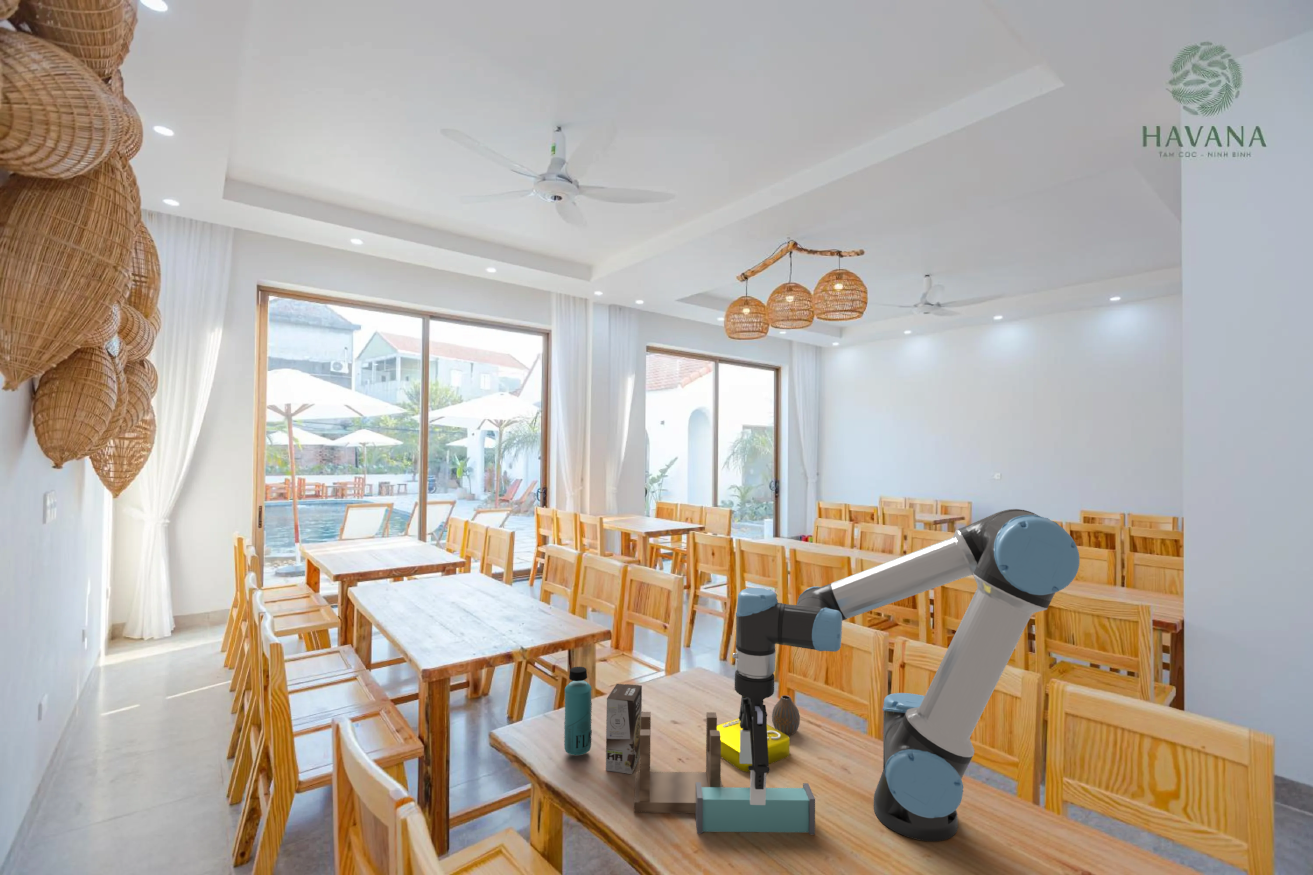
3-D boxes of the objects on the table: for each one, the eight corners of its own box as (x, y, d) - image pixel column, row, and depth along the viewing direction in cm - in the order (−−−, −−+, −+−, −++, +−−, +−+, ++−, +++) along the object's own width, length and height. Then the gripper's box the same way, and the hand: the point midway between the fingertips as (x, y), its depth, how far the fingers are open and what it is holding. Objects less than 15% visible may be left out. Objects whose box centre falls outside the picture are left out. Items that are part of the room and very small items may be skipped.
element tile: (749, 730, 153) (749, 711, 154) (793, 756, 141) (793, 735, 141) (703, 746, 145) (703, 726, 145) (745, 775, 133) (745, 753, 133)
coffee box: (633, 774, 132) (633, 700, 132) (604, 771, 133) (605, 698, 133) (642, 753, 141) (643, 684, 141) (615, 750, 142) (616, 682, 142)
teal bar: (807, 816, 118) (808, 783, 118) (814, 834, 112) (815, 798, 112) (695, 815, 118) (695, 782, 118) (697, 833, 112) (697, 797, 112)
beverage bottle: (573, 765, 135) (574, 676, 136) (557, 753, 140) (558, 667, 140) (597, 755, 140) (598, 669, 140) (581, 744, 145) (582, 661, 145)
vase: (803, 729, 153) (803, 695, 153) (794, 741, 147) (794, 705, 147) (777, 722, 157) (777, 689, 157) (767, 733, 151) (767, 698, 151)
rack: (719, 781, 130) (720, 711, 130) (725, 813, 119) (726, 736, 119) (636, 780, 130) (636, 710, 130) (634, 812, 119) (634, 735, 119)
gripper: (727, 647, 128) (724, 747, 128) (744, 699, 103) (741, 823, 103) (762, 648, 128) (760, 748, 128) (788, 700, 103) (785, 824, 103)
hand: (751, 782), depth 115 cm, fingers open, 13 cm apart
